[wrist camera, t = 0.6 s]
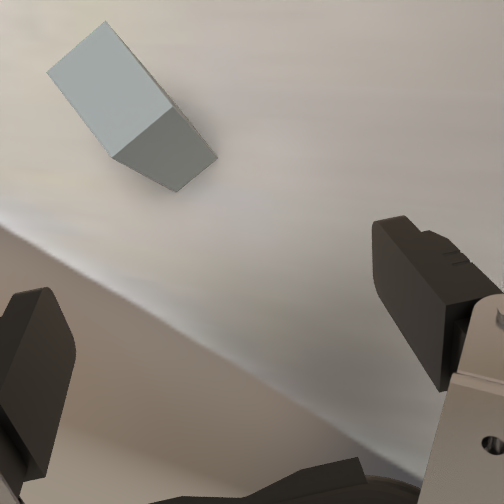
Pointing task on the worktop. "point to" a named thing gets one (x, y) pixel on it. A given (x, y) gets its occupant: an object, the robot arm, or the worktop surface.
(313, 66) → the worktop surface
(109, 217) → the worktop surface
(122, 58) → the pale grey rectangular prism
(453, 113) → the worktop surface
